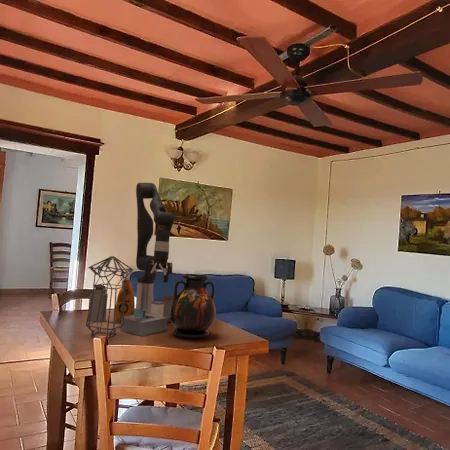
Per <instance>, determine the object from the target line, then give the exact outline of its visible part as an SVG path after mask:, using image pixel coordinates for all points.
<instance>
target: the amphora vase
mask: <svg viewBox="0 0 450 450" xmlns="http://www.w3.org/2000/svg"><path fill="white" fill-rule="evenodd" d="M181 277H182V279H184V280H185V281H184V280H181V279H179V280H177V281H176V282H175V284H174V288H173V289H174V290H173V296H174V299H173V303H172V304H171V308H170V319H171V322H170V323H171V324H172V325H173V326H174V328H175V329H173V334H174V335H175V336H176V337H179V338H180V339H181V338H183V339H187V340H200V339H204V338H207V337H208V336H209V335H210V332H209V329H210V328H211V327H212V325H213V324H214V323H215V321H216V318H217V317H216V316H217V312H216V311H217V310H216V306H215V302H214V300H215V299H214V298H215V285H214V283H213V282H212V281H210V280H209V279H210V276H209V275H206V274H199V273H198V274H196V273H195V274H194V273H184V274H182V275H181ZM208 280H209V281H208ZM179 284H182V285H183V288H182V289H181V290H180V291H179V292H178V287H179ZM208 285H210V287H211V293H210V294H209V292H208V291H207V287H208Z"/></svg>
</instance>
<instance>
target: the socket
mask: <svg viewBox="0 0 450 450" xmlns="http://www.w3.org/2000/svg"><path fill="white" fill-rule="evenodd" d="M145 317H146V318H145V319H143V320H138V321H133V320H129V319H125V318H124V326H122V327H121V328H119V331H121V332H123V333H124V332H125V333H128V334H132V335H137V336H139V337H144V336H149V335H151V334H152V335H153V334H157V333H161V332H165V331H167V330H168V322H167V321H168V318H167V317H162V316H157V315H152V314H151V313H150V314H148V313H145ZM121 323H123V317H122V320H121ZM119 326H121V324H120V325H119Z"/></svg>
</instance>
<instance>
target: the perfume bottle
mask: <svg viewBox="0 0 450 450" xmlns="http://www.w3.org/2000/svg"><path fill="white" fill-rule="evenodd" d="M96 286H100V287H95V291H94V298H93V304H92V311H91V318H90V321H91V322H90V323H92V322H94V321H96V320H97V315H98V309H99V304H100V298H101V292H102V288H101V287H103V284H101V285H97V284H96ZM92 292H93V289H91V293H90V294H89V298H88V307H89V306H90V302H91V297H92ZM105 295H106V288H103V294H102V299H101V305H100V310H99V316H98V321H102V318H103V310H104V303H105ZM108 295H109V294H108V293H107V297H106V304H105V312H104V319H103V321H107V309H108ZM90 309H91V308H90ZM87 311H89V308H88V310H87ZM89 316H90V313H89ZM88 322H89V318H88Z"/></svg>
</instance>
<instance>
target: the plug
mask: <svg viewBox="0 0 450 450" xmlns="http://www.w3.org/2000/svg"><path fill="white" fill-rule="evenodd" d="M163 309H164V302H163V301H159V300H155V301H154V302H151V313H150V314H152V315H157V316H162V317H163Z"/></svg>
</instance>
